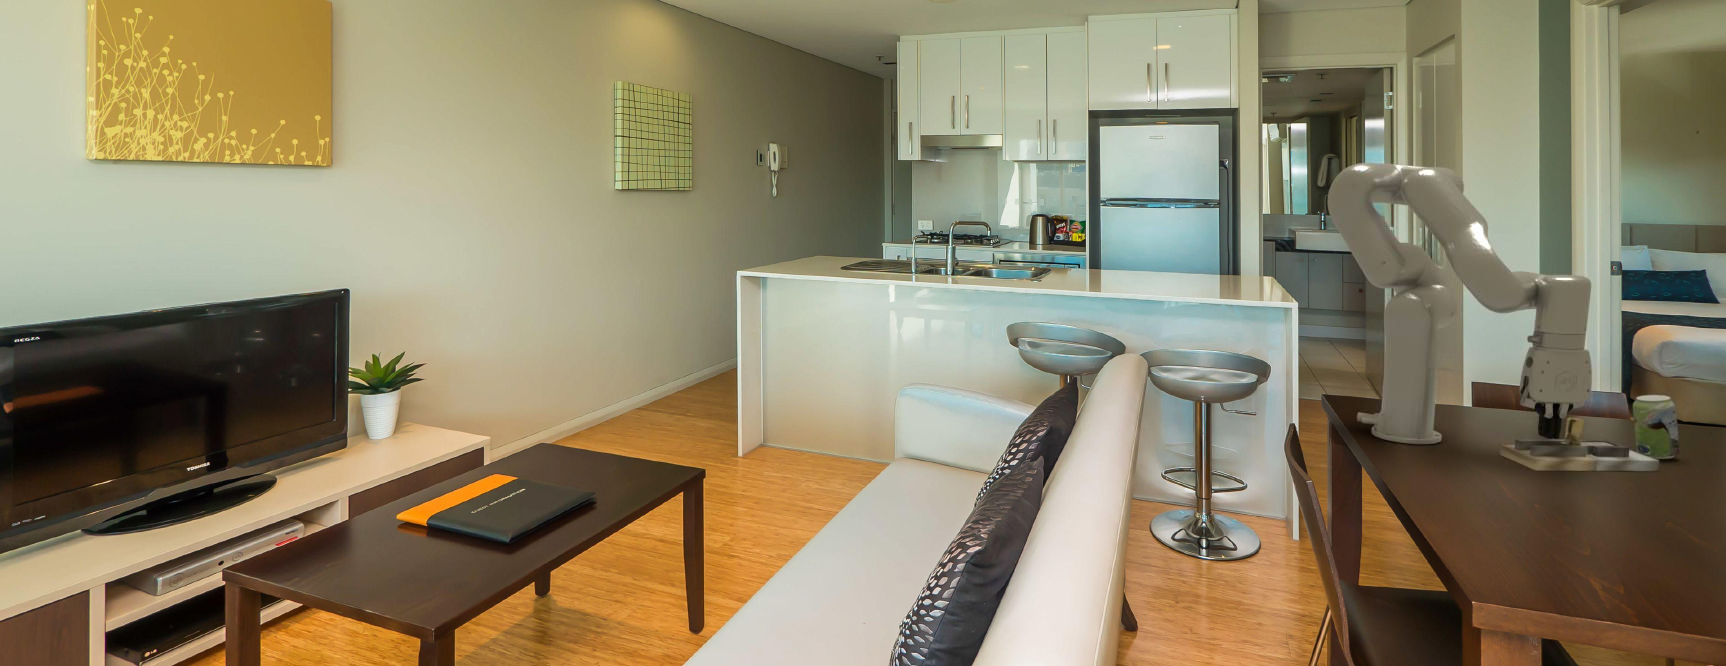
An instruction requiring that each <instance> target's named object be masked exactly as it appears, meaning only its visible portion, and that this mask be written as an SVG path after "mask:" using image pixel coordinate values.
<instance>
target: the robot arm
mask: <svg viewBox="0 0 1726 666" xmlns="http://www.w3.org/2000/svg"><path fill="white" fill-rule="evenodd" d="M1464 189H1465V185H1464V181H1463V179H1462V177H1461V176H1460V174H1458V173H1457V172H1456V171H1454V170H1453V169H1451V168H1448V167H1435V166H1431V167H1430V166H1417V165H1405V164H1404V165H1403V164H1395V163H1394V164H1393V163H1383V162H1381V163H1379V162H1376V163H1375V162H1361V163H1356V164H1351V165H1350V166H1348V167H1345V168H1344V169H1343V170H1341V172H1339V173H1338V174H1337V175H1336V177H1335V178H1334V179H1333V182H1332V184H1331V185H1330V187H1329V189H1328V194H1327V209H1328V213H1329V216H1330V218H1331V220H1332V222H1333V224H1334V226H1335V227H1336V229H1337V230H1338V232H1339V234H1340V235H1341V237H1342V238H1343V240H1344V242H1345V244H1346V245H1347V247H1348V249H1349V250H1350V253H1351V254H1352V256H1353V258H1354V259H1355V262H1356V263H1357V264H1358V266H1359V268H1360V269H1361V271H1362V272H1363V274H1364V276H1365V277H1366V279H1367V280H1368V282H1369V283H1370V284H1371V285H1372V286H1374V287H1376V288H1379V289H1385V290H1386V289H1393V291H1394V293H1395V295H1393V296H1392V297H1391V298H1390V299H1389V300H1388V302H1387V303H1386V306H1385V308H1384V311H1383V325H1384V327H1383V329H1384V336H1385V337H1384V338H1385V340H1384V342H1385V343H1384V344H1385V345H1384V347H1385V348H1384V350H1385V351H1384V362H1383V363H1384V367H1383V368H1384V369H1383V383H1382V398H1381V409H1380V411H1379V413H1377V412H1375V413H1374V414H1371V413H1365V412H1357V415H1356V420H1357V422H1361V424H1366V425H1368V424H1371V425H1373V426H1372V427H1371V434H1372V435H1373V436H1374V437H1376V438H1379V439H1382V440H1386V441H1389V442H1394V443H1395V442H1396V443H1401V444H1411V445H1433V444H1437V443H1439V442H1441V441H1442V437H1443V435H1442V434H1441V433H1440V432H1438V431H1436V430H1434V426H1435V424H1434V423H1435V411H1436V398H1437V388H1438V377H1439V376H1438V373H1439V359H1440V347H1439V337H1438V330H1440V329H1443V328H1446V327H1447V326H1449V325H1450V324H1452V323H1453V321H1455V319H1456V317H1457V315H1458V312H1459V311H1458V310H1459V305H1458V304H1459V302H1458V300H1457V298H1456V295H1455V293H1454V292H1453V290H1452V289H1451V287H1450V285H1449V284H1448V283H1447V281H1446V280H1445V278H1444V277H1443V274H1442V273H1441V272H1440V270H1439V269H1438V267H1437V265H1436V264H1435V263H1434V260H1433V259H1432V258H1431V256H1430V255H1429V254H1428V253H1427V252H1426V251H1425V250H1424V249H1423V248H1422V247H1420V246H1419V245H1416V244H1413V243H1411V242H1410V243H1409V242H1401V241H1400V240H1399V239H1398V238H1397V237H1396V235H1395V234H1394V233H1393V231H1392V229H1391V227H1390V226H1389V224H1388V222H1387V221H1386V219H1384V217H1383V216H1382V215H1381V214H1380V213H1379V212H1378V211H1377V210H1376V208H1375V207H1374V204H1377V203H1378V204H1379V203H1381V204H1392V205H1400V206H1408V207H1409V208H1410V210H1411V211H1412V212H1413V213H1414V215H1416V216H1417V218H1418V219H1419V220H1420V221H1421V223H1422V224H1423V225H1424V226H1425V227H1426V229H1428V230H1429V232H1430V233H1431V234H1432V235H1433V237H1434V238H1435V239H1436V240H1437V242H1438V243H1439V244H1440V245H1441V246H1442V248H1443V251H1444V253H1445V256H1446V258H1447V259H1448V261H1449V264H1450V265H1451V268H1452V270H1453V272H1454V273H1455V275H1456V276H1457V278H1458V279H1459V281H1460V282H1461V283H1462V284H1463V285H1464V287H1465V288H1466V289H1467V290H1468V291H1469V292H1470V294H1471V295H1472V296H1473V297H1474V298H1475V299H1476V301H1478V303H1479V304H1480V305H1482V307H1484V308H1485V309H1487V310H1488V311H1491V312H1493V313H1495V314H1510V313H1515V312H1521V311H1525V310H1535V318H1534V319H1535V320H1534V328H1533V334H1532V335H1527V337H1526V339H1527V342H1528V343H1531V344H1532V346H1530V347H1528V350H1527V352H1526V355H1525V358H1524V361H1523V365H1522V370H1521V375H1520V380H1519V381H1520V382H1519V395H1520V397H1521V399H1520V401H1519V405H1521V406H1522V407H1526V408H1531V409H1532V410H1533V411H1534V412H1535V413H1536V415H1538V423H1537V424H1538V425H1537V432H1538V436H1540V437H1543V438H1544V439H1560V433H1561V430H1562V421H1563V419H1565V418H1567V414H1568V413H1570V412H1571V410H1573V409H1578V408H1582V407H1584V406H1585V403H1587V402H1588V401H1590V399H1591V394H1592V386H1593V385H1592V382H1593V381H1592V380H1593V378H1592V377H1593V375H1592V373H1593V372H1592V370H1593V368H1592V359H1591V353H1590V350H1589V349H1585V346H1586V336H1587V329H1588V319H1589V313H1590V312H1589V311H1590V301H1591V295H1592V294H1591V293H1592V292H1591V291H1592V281H1591V280H1590V278H1588V277H1586V276H1583V275H1575V274H1542V273H1536V272H1535V273H1534V272H1529V271H1521V270H1520V271H1519V270H1517V271H1511V270H1510V269H1509V267H1508V266H1507V265H1506V264H1505V263H1504V262H1503V261H1502V259H1501V258H1500V257H1499V256H1498V254H1497V253H1496V251H1495V250H1494V249H1493V247H1492V245H1491V242H1490V240H1489V237H1488V236H1489V235H1488V233H1489V232H1488V231H1489V226H1488V221H1487V219H1486V218H1485V217H1484V216H1483V215H1482V214H1481V213H1480V211H1479V210H1478V209H1477V208H1476V207H1475V206H1474V205H1473V204H1472V202H1470V200H1469V199H1468V197H1466V196H1465V195H1464V194H1463V193H1464Z"/></svg>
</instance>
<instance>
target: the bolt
mask: <svg viewBox="0 0 1726 666" xmlns="http://www.w3.org/2000/svg"><path fill="white" fill-rule="evenodd" d="M1566 418H1567V419H1566V427H1565V435H1564V436H1565V437H1564V439H1565V442H1560V446H1584V447H1587V448H1586V454H1592V452H1593V446H1614V445H1611V444H1608V443H1606V442H1582V439H1583V433H1584V432H1583V431H1584V422H1585V420H1584V419H1583V418H1579V417H1566Z"/></svg>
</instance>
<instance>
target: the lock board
mask: <svg viewBox="0 0 1726 666" xmlns="http://www.w3.org/2000/svg"><path fill="white" fill-rule="evenodd" d="M1560 442H1565V438H1564V439H1563V438H1562V439H1560V438H1559V439H1554V438H1553V439H1548V438H1544V439H1543V438H1542V439H1541V438H1540V439H1536V438H1535V439H1533V438H1530V439H1527V438H1525V439H1524V438H1523V439H1522V438H1517V439H1515V440H1514V444H1511V445H1510V444H1501V447H1500V456H1501V457H1505V459H1508V460H1511V461H1513V462H1516V463H1518V464H1520V465H1522V466H1525V467H1526V468H1529V469H1531V470H1533V471H1537V472H1539V471H1544V472H1545V471H1550V472H1551V471H1553V472H1554V471H1555V472H1556V471H1558V472H1561V471H1569V472H1571V471H1573V472H1581V471H1583V472H1658V471H1659V468H1660V467H1659V466H1660V459H1653V458H1650V457H1648V456H1645V455H1642V454H1639V453H1637V451H1633V450H1631V449H1630V448H1631V447H1629V446H1627V445H1624V444H1622V443H1618V442H1616V441H1615V442H1614V441H1613V440H1609V439H1597V438H1596V439H1589V438H1588V439H1583V438H1582V442H1606V443H1608V444H1611V445H1614V446H1593V452H1592V454H1586V448H1587V447H1584V446H1560Z"/></svg>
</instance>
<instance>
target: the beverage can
mask: <svg viewBox="0 0 1726 666" xmlns="http://www.w3.org/2000/svg"><path fill="white" fill-rule="evenodd" d="M1632 414H1633V423H1634V425H1633V426H1634V436H1635V437H1634V438H1635V446H1636V447H1635V448H1636V449H1635V450H1636V453H1639V454H1642V455H1645V456H1648V457H1650V458H1653V459H1656V460H1666V459H1668V460H1669V459H1673V458H1674V457H1675V456H1677V455H1679V454H1680V442H1679V431H1678V430H1679V429H1678V418H1677V406H1676V403H1675V402H1674V401H1673V400H1672V397H1670V396H1669V395H1663V394H1644V395H1639V396H1637V397H1636V398H1635V400H1634V401H1633V403H1632Z"/></svg>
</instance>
